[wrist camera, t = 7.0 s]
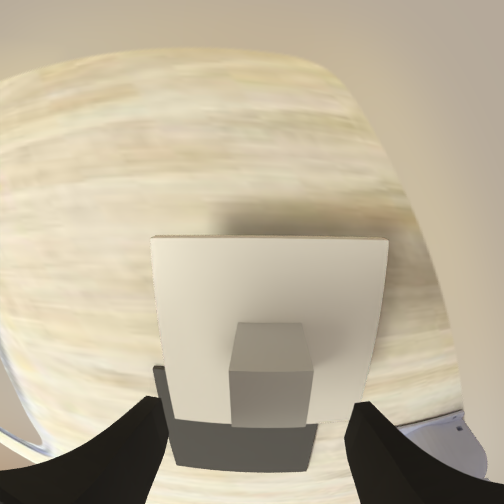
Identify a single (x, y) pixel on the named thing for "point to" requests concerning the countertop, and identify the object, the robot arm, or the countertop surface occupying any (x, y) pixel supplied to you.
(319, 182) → the countertop surface
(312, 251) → the cover
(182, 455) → the mat
